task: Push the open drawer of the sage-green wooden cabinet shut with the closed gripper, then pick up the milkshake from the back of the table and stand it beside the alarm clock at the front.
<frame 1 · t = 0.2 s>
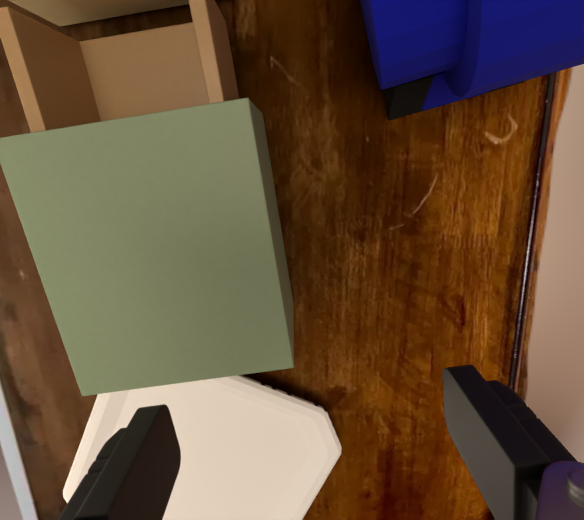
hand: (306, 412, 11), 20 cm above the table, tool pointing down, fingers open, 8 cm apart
cabinet: (197, 226, 30), on the table
plate: (204, 454, 36), on the table
alarm clock: (429, 9, 26), on the table
drawer: (136, 58, 22), point 5 cm above the table, slide at 7.0 cm
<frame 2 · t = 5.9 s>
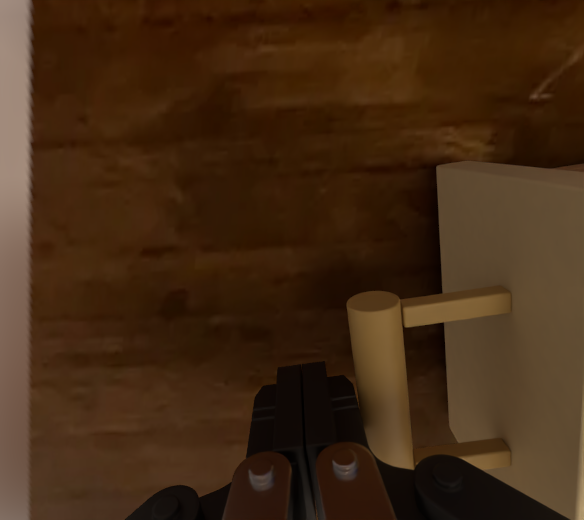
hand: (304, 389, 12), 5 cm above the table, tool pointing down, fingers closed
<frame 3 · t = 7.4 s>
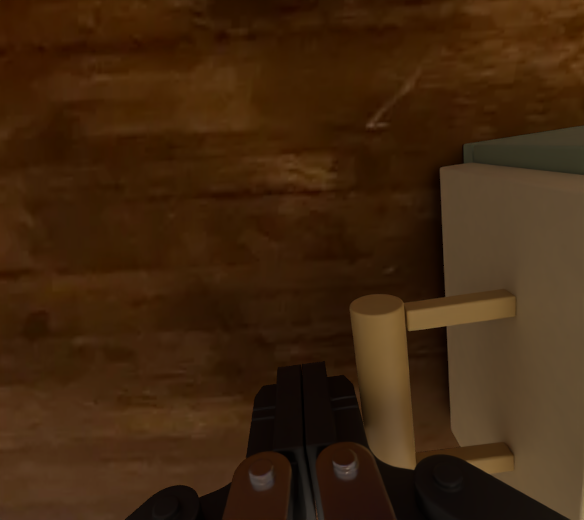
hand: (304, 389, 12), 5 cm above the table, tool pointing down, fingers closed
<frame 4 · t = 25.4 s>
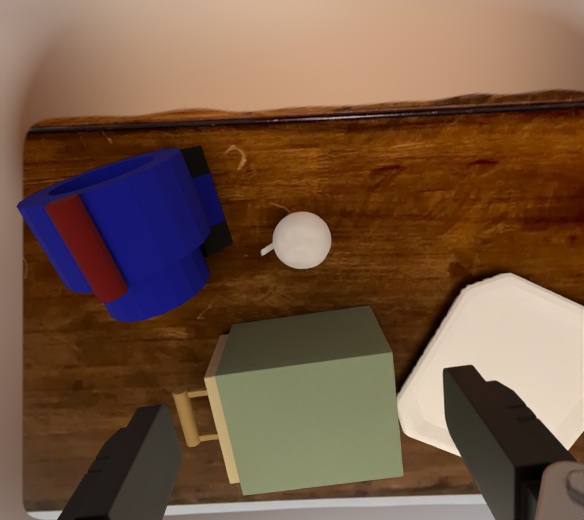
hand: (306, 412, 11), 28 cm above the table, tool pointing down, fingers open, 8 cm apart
cabinet: (308, 367, 43), on the table
plate: (502, 372, 43), on the table
alarm clock: (160, 219, 38), on the table
milkshake: (295, 221, 38), on the table
drawer: (271, 399, 38), point 5 cm above the table, slide at 0.0 cm
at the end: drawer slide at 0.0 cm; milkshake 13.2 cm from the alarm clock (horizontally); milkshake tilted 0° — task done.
